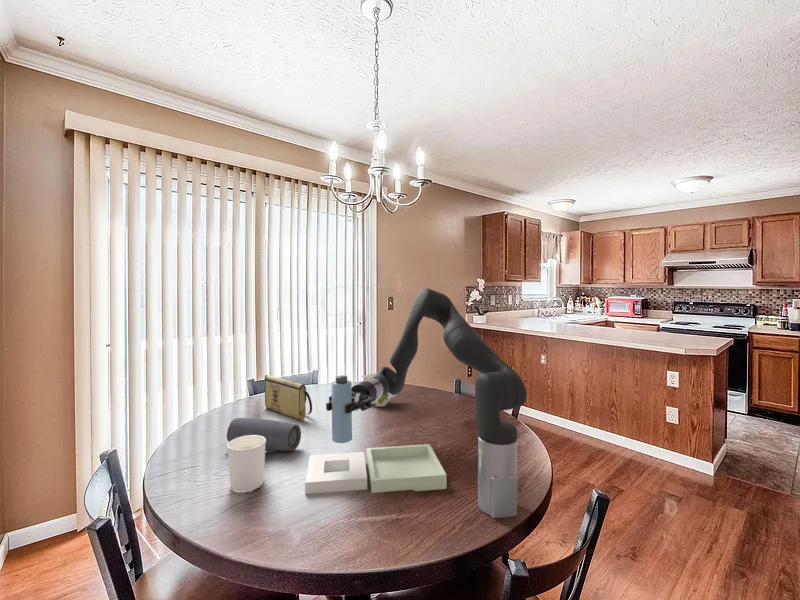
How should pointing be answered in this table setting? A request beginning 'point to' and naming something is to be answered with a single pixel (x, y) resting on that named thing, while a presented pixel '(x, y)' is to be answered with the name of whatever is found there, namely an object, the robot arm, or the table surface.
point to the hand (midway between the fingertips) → (337, 408)
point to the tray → (405, 469)
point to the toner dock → (336, 473)
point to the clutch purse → (286, 397)
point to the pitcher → (382, 400)
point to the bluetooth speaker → (267, 432)
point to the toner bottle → (341, 410)
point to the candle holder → (246, 462)
